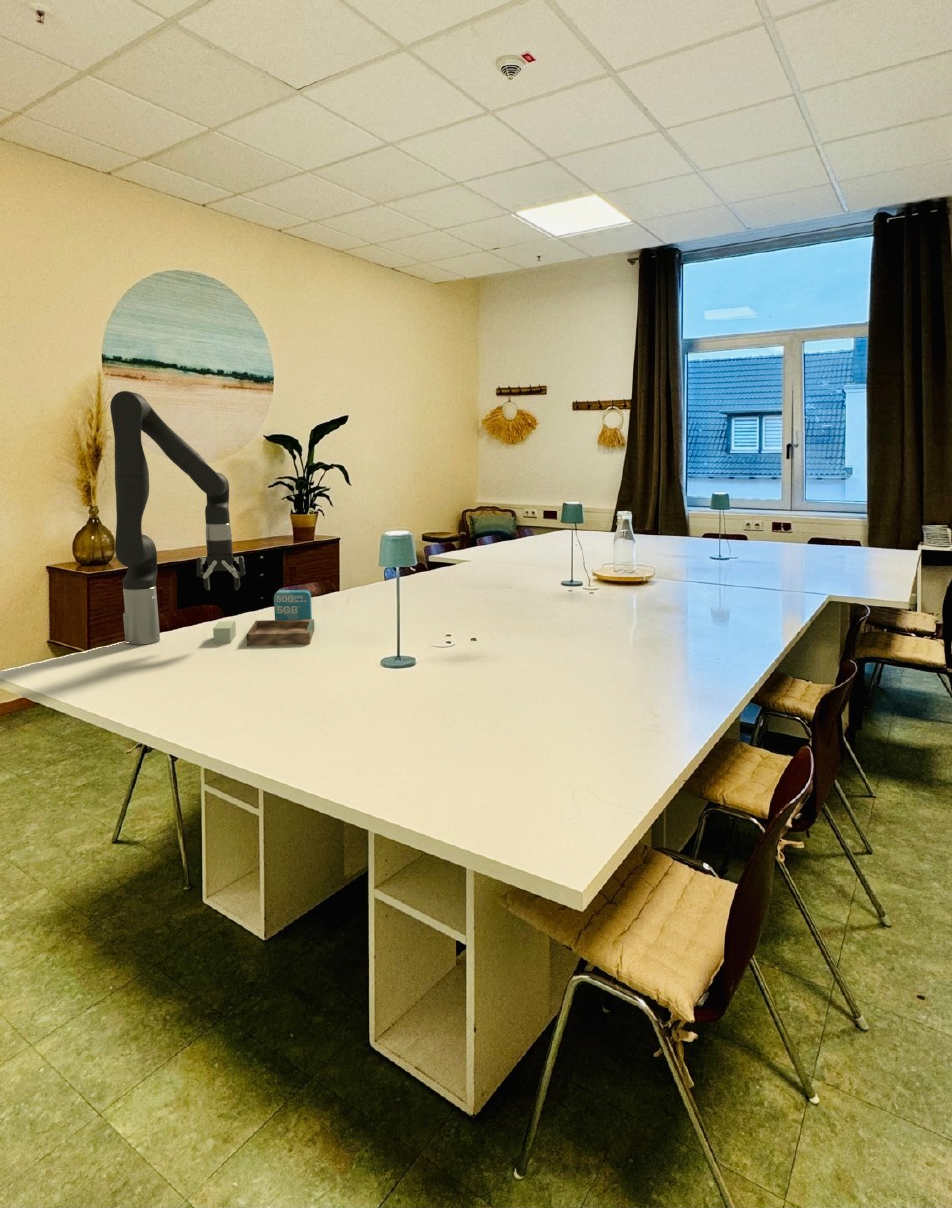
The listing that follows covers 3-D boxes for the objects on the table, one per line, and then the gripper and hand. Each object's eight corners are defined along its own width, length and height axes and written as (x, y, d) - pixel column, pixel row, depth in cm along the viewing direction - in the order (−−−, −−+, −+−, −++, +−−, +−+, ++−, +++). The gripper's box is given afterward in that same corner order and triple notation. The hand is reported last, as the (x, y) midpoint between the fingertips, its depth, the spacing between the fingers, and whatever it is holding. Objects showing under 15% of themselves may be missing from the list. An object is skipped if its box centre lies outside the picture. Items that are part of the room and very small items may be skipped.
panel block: (214, 644, 226) (213, 628, 225) (220, 636, 235) (219, 621, 234) (230, 643, 226) (229, 628, 225) (236, 636, 236) (235, 621, 235)
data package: (275, 627, 248) (273, 592, 246) (276, 624, 252) (275, 590, 250) (310, 626, 250) (309, 592, 247) (312, 623, 254) (310, 589, 252)
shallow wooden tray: (246, 645, 223) (246, 634, 222) (256, 630, 242) (255, 620, 242) (309, 644, 226) (309, 633, 225) (314, 629, 245) (314, 619, 245)
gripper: (191, 539, 220) (195, 592, 223) (240, 539, 222) (243, 591, 225) (197, 537, 227) (201, 588, 230) (244, 536, 229) (247, 587, 232)
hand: (222, 589), depth 227 cm, fingers open, 8 cm apart
